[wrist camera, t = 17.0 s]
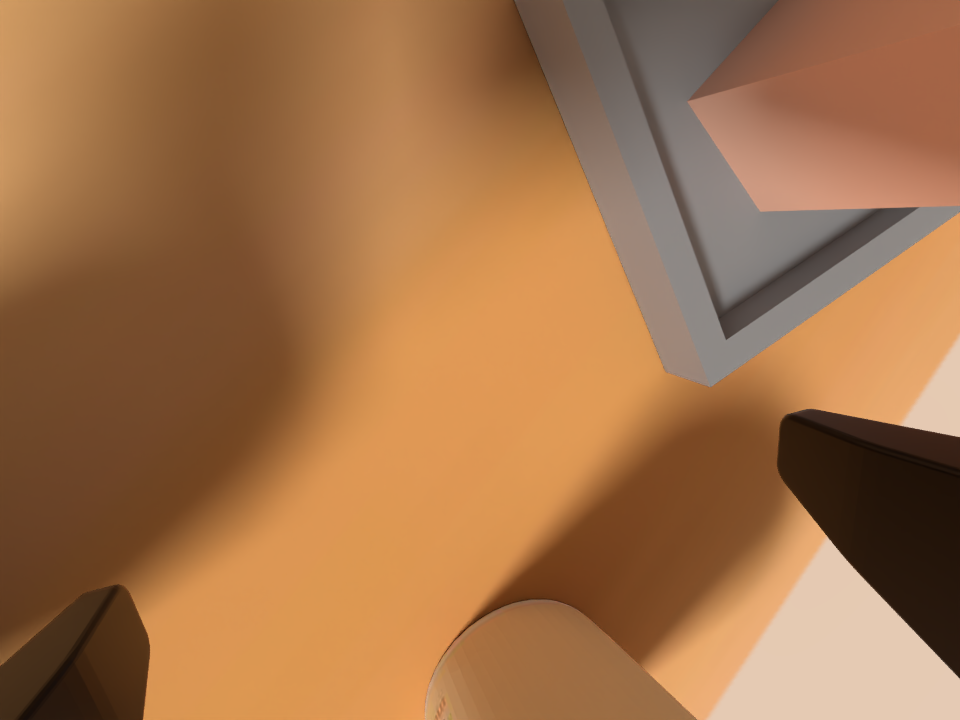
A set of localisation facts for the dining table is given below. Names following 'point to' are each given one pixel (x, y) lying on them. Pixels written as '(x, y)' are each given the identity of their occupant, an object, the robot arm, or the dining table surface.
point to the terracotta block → (842, 105)
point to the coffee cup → (543, 671)
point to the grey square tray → (695, 183)
